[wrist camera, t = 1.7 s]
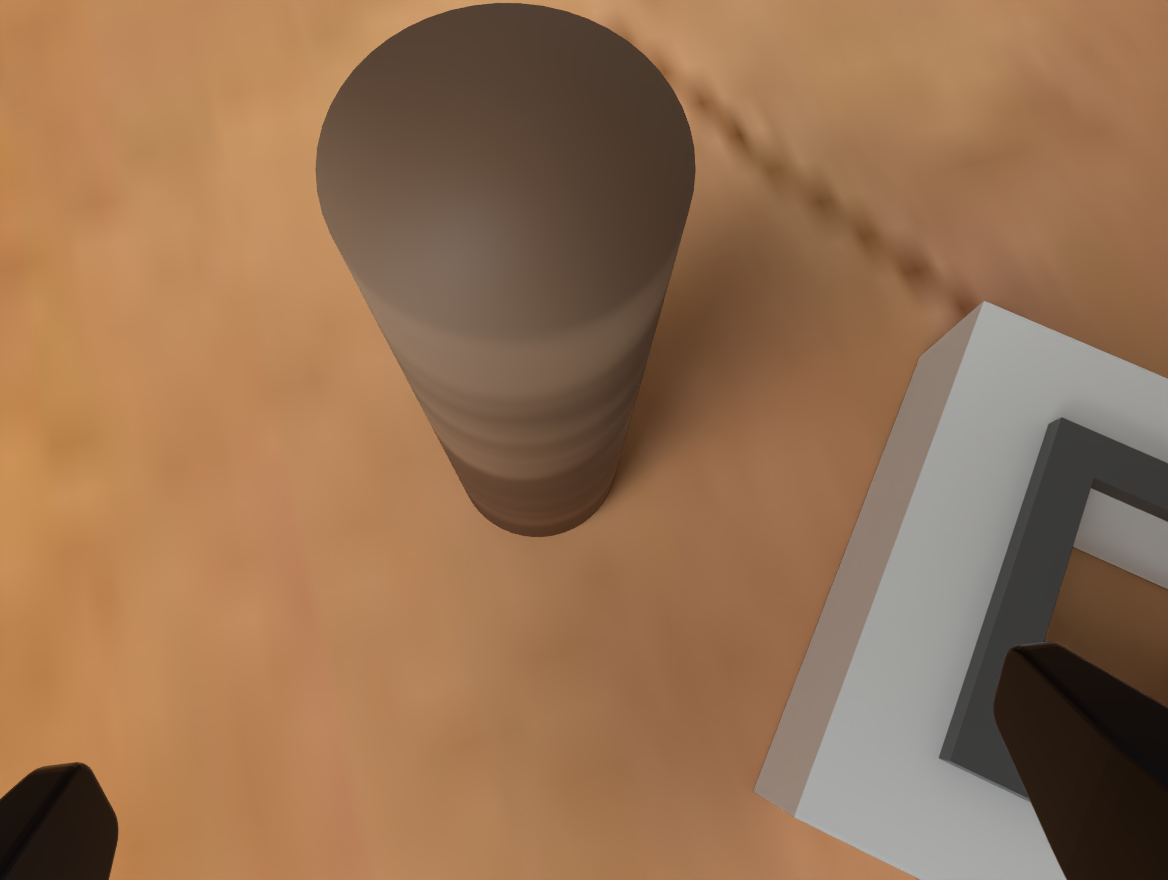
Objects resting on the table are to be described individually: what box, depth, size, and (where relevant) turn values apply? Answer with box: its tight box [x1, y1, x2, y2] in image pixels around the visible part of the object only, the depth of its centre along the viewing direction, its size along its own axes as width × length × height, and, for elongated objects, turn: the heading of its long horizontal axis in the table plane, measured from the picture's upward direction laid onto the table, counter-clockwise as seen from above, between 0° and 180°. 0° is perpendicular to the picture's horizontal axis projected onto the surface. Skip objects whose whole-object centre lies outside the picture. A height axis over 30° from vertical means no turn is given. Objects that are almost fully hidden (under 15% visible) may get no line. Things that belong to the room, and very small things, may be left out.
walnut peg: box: [316, 3, 695, 537], centre depth 15 cm, size 4×4×13 cm
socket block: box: [753, 301, 1168, 880], centre depth 18 cm, size 12×12×4 cm
